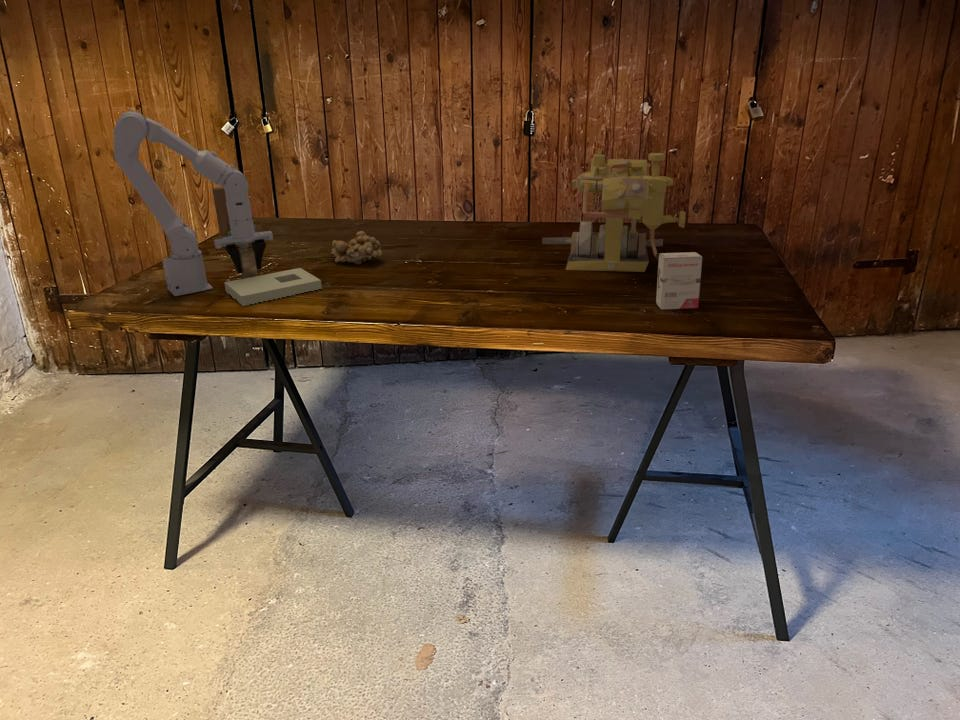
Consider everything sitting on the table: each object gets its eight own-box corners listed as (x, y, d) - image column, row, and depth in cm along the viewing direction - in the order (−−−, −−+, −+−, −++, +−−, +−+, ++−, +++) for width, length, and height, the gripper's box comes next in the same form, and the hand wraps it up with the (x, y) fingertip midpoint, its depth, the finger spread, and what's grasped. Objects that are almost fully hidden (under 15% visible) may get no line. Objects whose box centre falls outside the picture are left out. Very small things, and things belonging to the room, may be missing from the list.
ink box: (691, 301, 165) (696, 250, 160) (698, 308, 160) (703, 256, 155) (654, 302, 164) (658, 252, 160) (660, 310, 160) (664, 258, 155)
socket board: (243, 306, 170) (241, 296, 169) (225, 291, 181) (224, 282, 180) (322, 289, 180) (320, 280, 179) (301, 276, 191) (300, 267, 190)
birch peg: (245, 284, 186) (240, 254, 183) (241, 280, 189) (236, 251, 186) (260, 281, 188) (256, 251, 185) (255, 278, 191) (251, 248, 188)
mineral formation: (369, 252, 212) (395, 259, 201) (330, 268, 205) (355, 276, 194) (361, 226, 208) (388, 231, 197) (321, 242, 202) (347, 248, 191)
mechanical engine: (683, 288, 173) (695, 160, 161) (532, 283, 180) (533, 160, 168) (676, 246, 208) (685, 139, 196) (550, 244, 215) (551, 140, 203)
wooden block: (252, 247, 222) (243, 188, 214) (219, 247, 223) (209, 188, 216) (257, 244, 225) (248, 186, 218) (224, 244, 226) (214, 186, 219)
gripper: (216, 226, 175) (225, 279, 181) (273, 217, 183) (281, 268, 188) (208, 221, 181) (217, 273, 186) (264, 212, 188) (272, 263, 194)
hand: (249, 270), depth 188 cm, fingers open, 4 cm apart
